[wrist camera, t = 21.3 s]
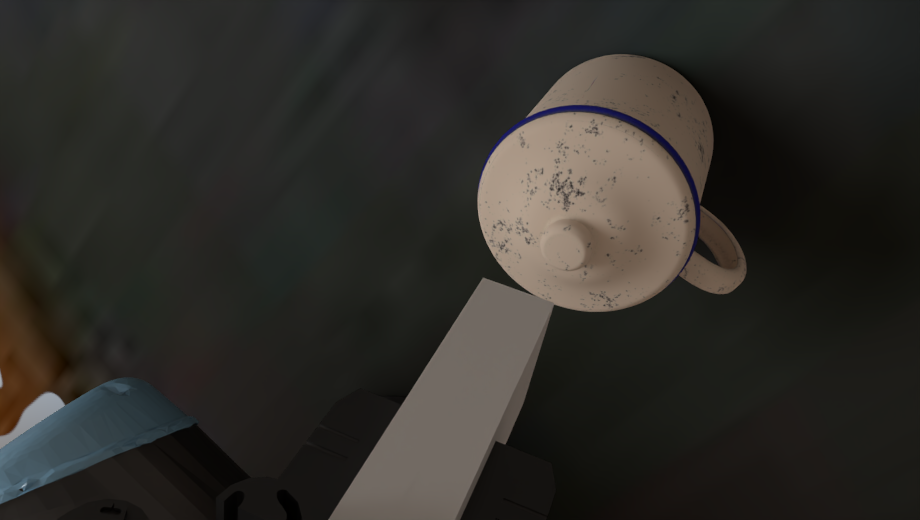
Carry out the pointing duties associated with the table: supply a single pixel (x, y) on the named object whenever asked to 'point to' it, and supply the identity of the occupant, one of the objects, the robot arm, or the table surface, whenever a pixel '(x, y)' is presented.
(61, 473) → the robot arm
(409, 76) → the table surface
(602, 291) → the teacup with lid
